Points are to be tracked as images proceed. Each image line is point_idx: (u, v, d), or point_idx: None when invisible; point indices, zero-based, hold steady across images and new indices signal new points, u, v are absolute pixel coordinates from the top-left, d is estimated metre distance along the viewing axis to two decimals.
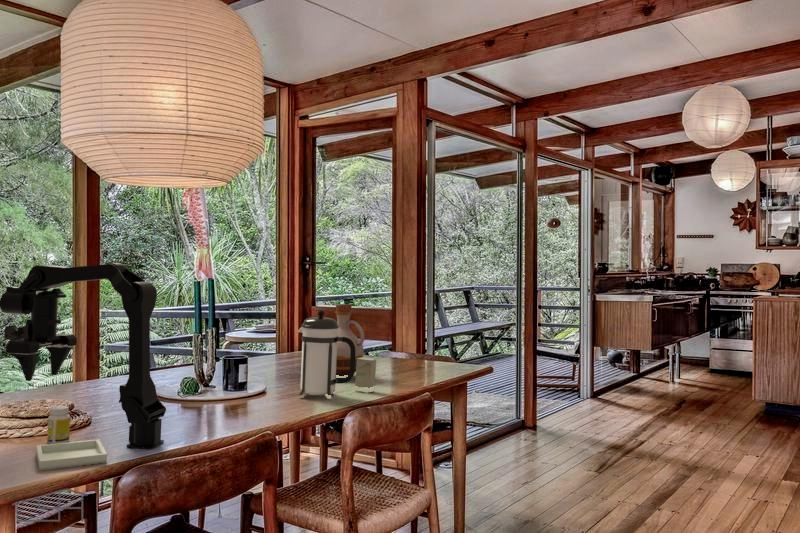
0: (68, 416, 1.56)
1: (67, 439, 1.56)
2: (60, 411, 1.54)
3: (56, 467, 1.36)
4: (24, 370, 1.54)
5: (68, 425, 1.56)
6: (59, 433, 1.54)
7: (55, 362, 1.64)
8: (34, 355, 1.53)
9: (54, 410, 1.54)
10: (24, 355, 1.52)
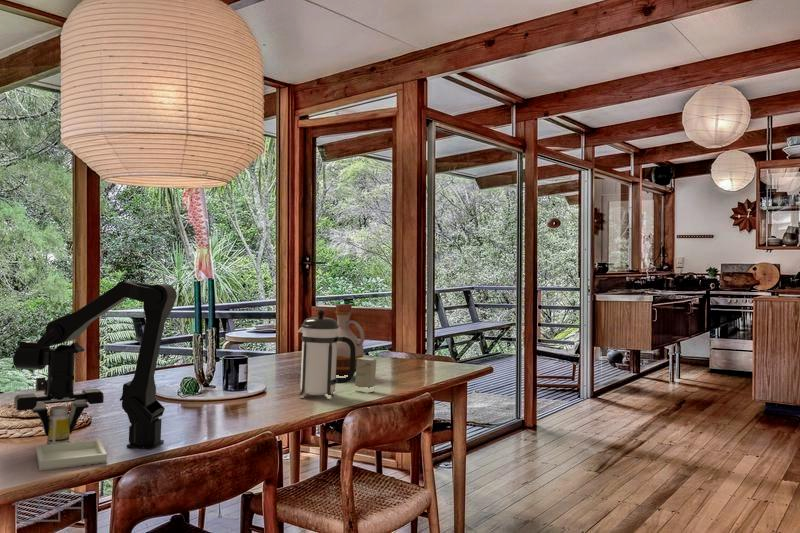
0: (68, 416, 1.56)
1: (67, 439, 1.56)
2: (60, 411, 1.54)
3: (56, 467, 1.36)
4: (42, 424, 1.54)
5: (68, 425, 1.56)
6: (59, 433, 1.54)
7: (71, 420, 1.57)
8: (39, 411, 1.51)
9: (54, 410, 1.54)
10: (32, 410, 1.51)
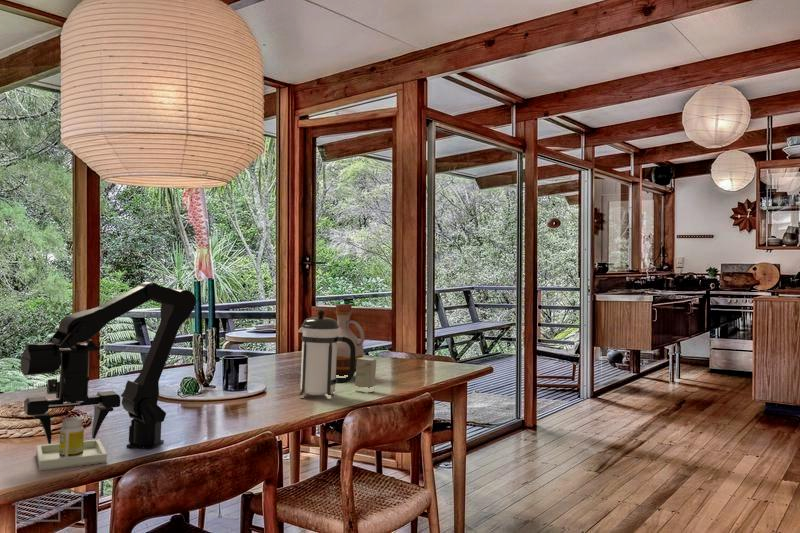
0: (82, 428, 1.44)
1: (81, 453, 1.43)
2: (73, 423, 1.42)
3: (56, 467, 1.36)
4: (44, 431, 1.40)
5: (82, 438, 1.43)
6: (72, 447, 1.41)
7: (94, 424, 1.46)
8: (41, 417, 1.37)
9: (67, 422, 1.41)
10: (33, 416, 1.38)
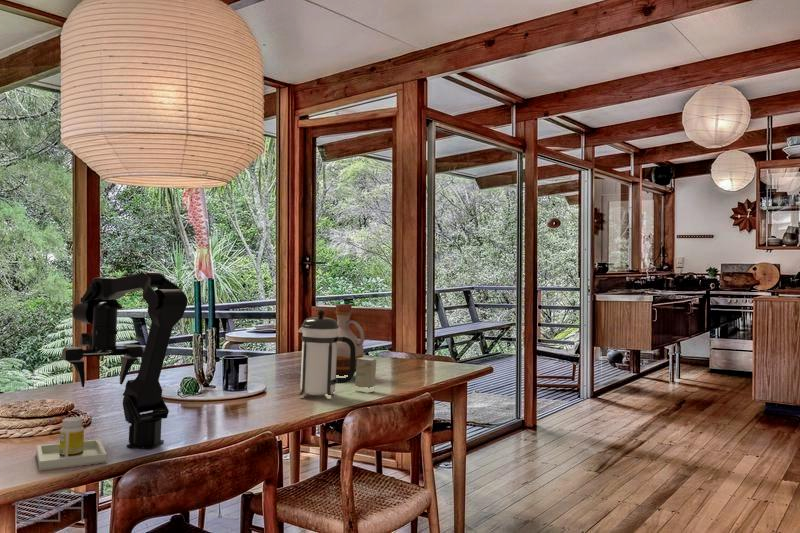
0: (82, 428, 1.44)
1: (81, 453, 1.43)
2: (73, 423, 1.42)
3: (56, 467, 1.36)
4: (78, 376, 1.63)
5: (82, 438, 1.43)
6: (72, 447, 1.41)
7: (122, 372, 1.69)
8: (77, 363, 1.60)
9: (67, 422, 1.42)
10: (70, 362, 1.60)
